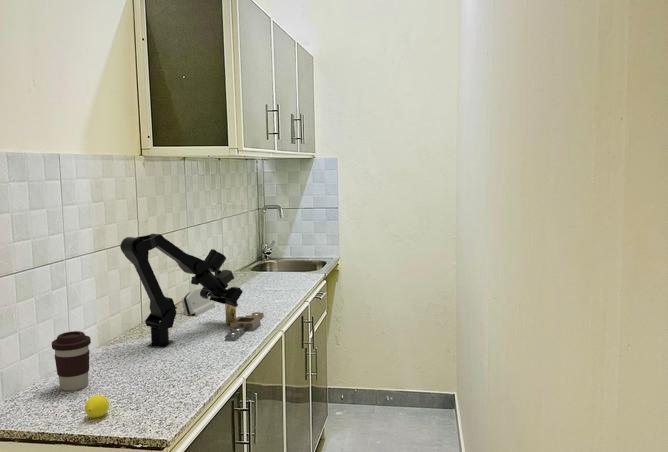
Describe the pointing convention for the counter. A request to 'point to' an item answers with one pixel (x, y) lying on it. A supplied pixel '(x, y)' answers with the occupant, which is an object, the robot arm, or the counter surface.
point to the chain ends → (243, 325)
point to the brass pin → (230, 313)
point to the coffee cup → (72, 359)
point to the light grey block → (196, 303)
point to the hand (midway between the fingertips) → (233, 305)
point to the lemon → (96, 406)
